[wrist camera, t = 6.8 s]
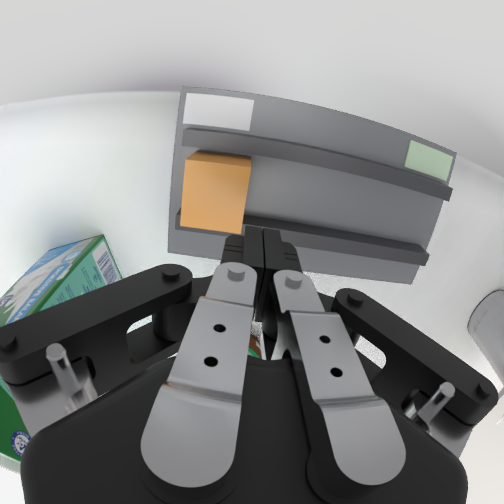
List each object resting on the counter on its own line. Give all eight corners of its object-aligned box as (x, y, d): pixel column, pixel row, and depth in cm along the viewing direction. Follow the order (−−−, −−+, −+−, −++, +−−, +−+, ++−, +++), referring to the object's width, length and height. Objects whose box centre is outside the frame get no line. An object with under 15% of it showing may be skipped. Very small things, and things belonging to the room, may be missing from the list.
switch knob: (251, 156, 21) (251, 167, 17) (242, 211, 23) (240, 234, 19) (197, 149, 21) (185, 159, 17) (192, 204, 23) (180, 225, 19)
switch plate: (434, 145, 24) (469, 157, 19) (396, 265, 31) (419, 295, 25) (192, 89, 22) (175, 84, 17) (177, 233, 29) (161, 263, 23)
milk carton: (79, 309, 34) (-7, 468, 11) (49, 249, 29) (-78, 402, 7) (134, 302, 33) (53, 500, 11) (103, 234, 29) (-43, 430, 6)
